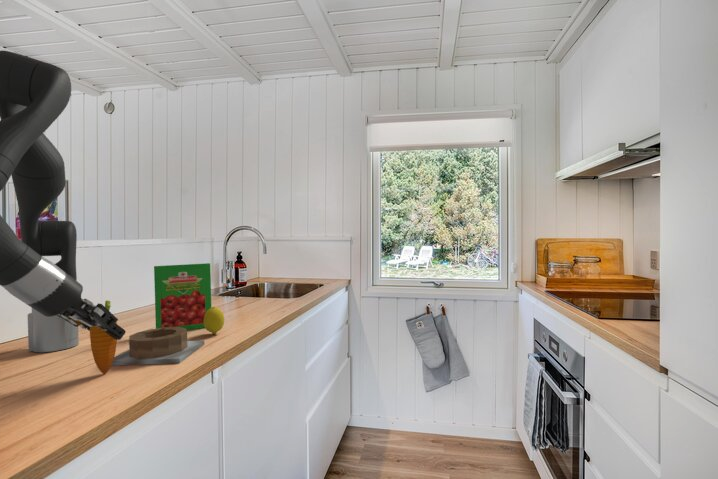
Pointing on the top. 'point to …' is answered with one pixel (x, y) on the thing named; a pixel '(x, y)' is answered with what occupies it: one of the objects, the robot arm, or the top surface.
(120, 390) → the top surface
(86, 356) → the top surface
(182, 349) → the collar board
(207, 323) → the lemon
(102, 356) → the carrot
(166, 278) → the tomato puree packet
